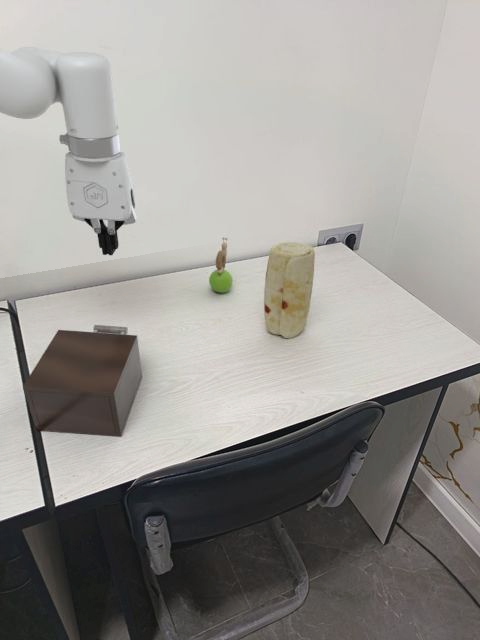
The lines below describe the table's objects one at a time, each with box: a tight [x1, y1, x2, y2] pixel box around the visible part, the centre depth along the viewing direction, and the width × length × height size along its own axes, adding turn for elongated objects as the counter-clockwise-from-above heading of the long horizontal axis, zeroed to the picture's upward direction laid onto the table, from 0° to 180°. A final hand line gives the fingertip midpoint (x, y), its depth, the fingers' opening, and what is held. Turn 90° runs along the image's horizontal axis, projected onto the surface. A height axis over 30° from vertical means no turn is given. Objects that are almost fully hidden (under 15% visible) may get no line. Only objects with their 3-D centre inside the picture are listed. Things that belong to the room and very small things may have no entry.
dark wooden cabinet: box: [22, 329, 143, 438], centre depth 82 cm, size 15×14×10 cm
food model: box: [263, 241, 316, 339], centre depth 99 cm, size 10×7×20 cm
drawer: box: [67, 324, 129, 335], centre depth 86 cm, size 19×12×8 cm, turn 178°
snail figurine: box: [208, 236, 234, 294], centre depth 113 cm, size 5×6×12 cm
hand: (109, 251), depth 88 cm, fingers closed
